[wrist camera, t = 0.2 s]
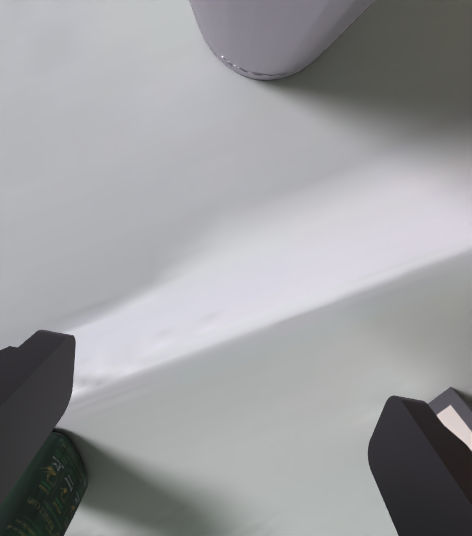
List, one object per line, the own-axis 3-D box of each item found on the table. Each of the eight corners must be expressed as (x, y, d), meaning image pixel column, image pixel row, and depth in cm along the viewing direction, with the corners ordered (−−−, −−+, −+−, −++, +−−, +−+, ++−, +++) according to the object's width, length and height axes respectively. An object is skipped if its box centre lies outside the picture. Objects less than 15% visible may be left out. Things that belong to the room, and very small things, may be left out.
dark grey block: (406, 453, 34) (479, 592, 24) (383, 436, 33) (448, 572, 23) (473, 406, 32) (586, 536, 21) (450, 387, 31) (556, 512, 20)
